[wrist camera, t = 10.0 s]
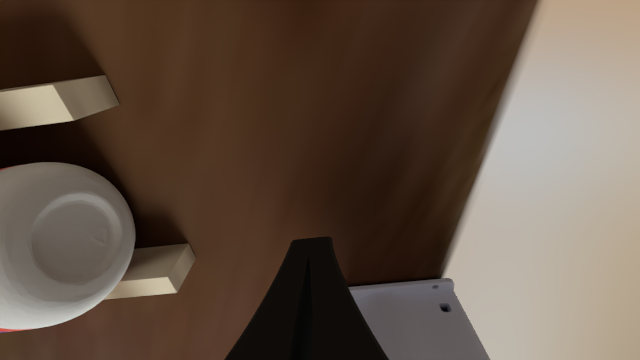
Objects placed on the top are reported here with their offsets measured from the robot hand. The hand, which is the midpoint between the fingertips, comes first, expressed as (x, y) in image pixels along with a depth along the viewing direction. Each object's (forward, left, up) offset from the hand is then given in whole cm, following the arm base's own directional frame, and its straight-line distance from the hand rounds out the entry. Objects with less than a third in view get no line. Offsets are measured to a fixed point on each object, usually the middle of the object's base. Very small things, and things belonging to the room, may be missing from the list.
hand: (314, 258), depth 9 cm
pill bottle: (+12, 0, -3) cm, 12 cm away
